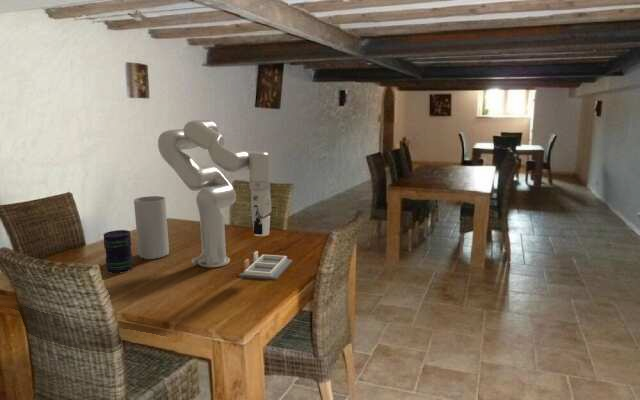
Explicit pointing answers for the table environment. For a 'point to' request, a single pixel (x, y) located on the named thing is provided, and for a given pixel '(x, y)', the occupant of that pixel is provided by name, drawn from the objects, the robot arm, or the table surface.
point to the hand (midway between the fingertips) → (261, 231)
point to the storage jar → (118, 251)
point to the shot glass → (264, 225)
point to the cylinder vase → (151, 227)
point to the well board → (265, 266)
